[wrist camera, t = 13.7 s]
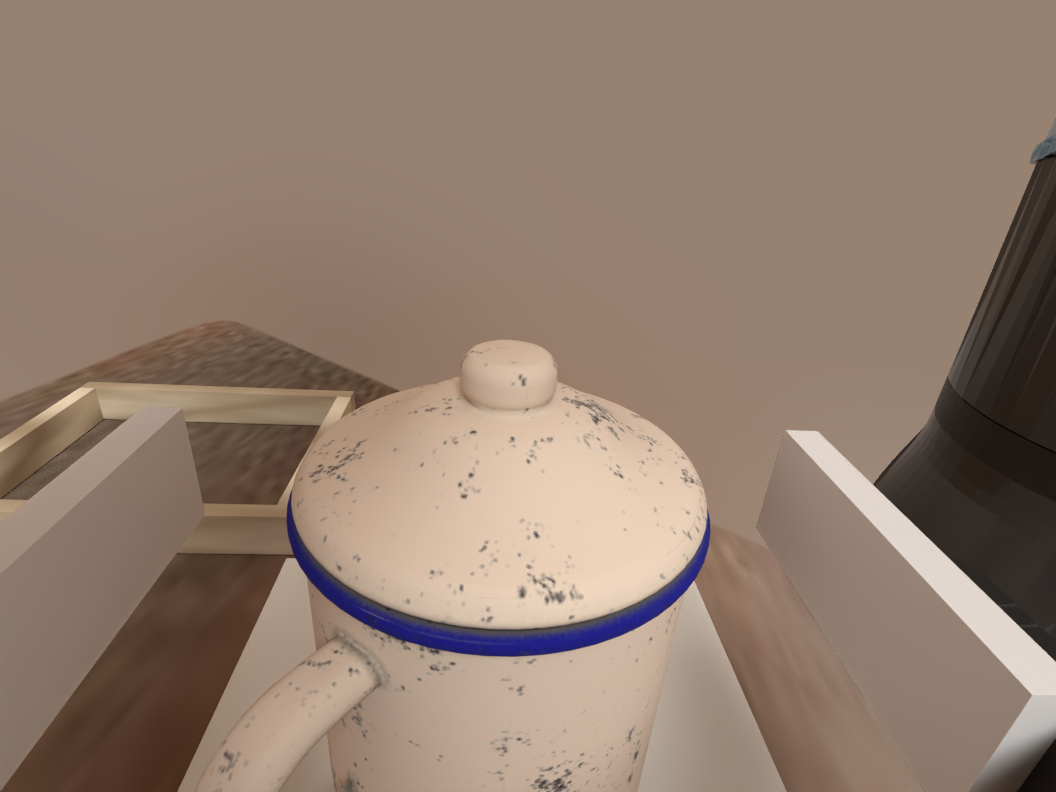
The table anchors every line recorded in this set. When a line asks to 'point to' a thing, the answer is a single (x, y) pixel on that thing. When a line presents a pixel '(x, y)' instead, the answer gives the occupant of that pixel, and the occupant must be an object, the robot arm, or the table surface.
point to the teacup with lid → (480, 590)
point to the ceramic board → (676, 739)
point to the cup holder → (95, 401)
